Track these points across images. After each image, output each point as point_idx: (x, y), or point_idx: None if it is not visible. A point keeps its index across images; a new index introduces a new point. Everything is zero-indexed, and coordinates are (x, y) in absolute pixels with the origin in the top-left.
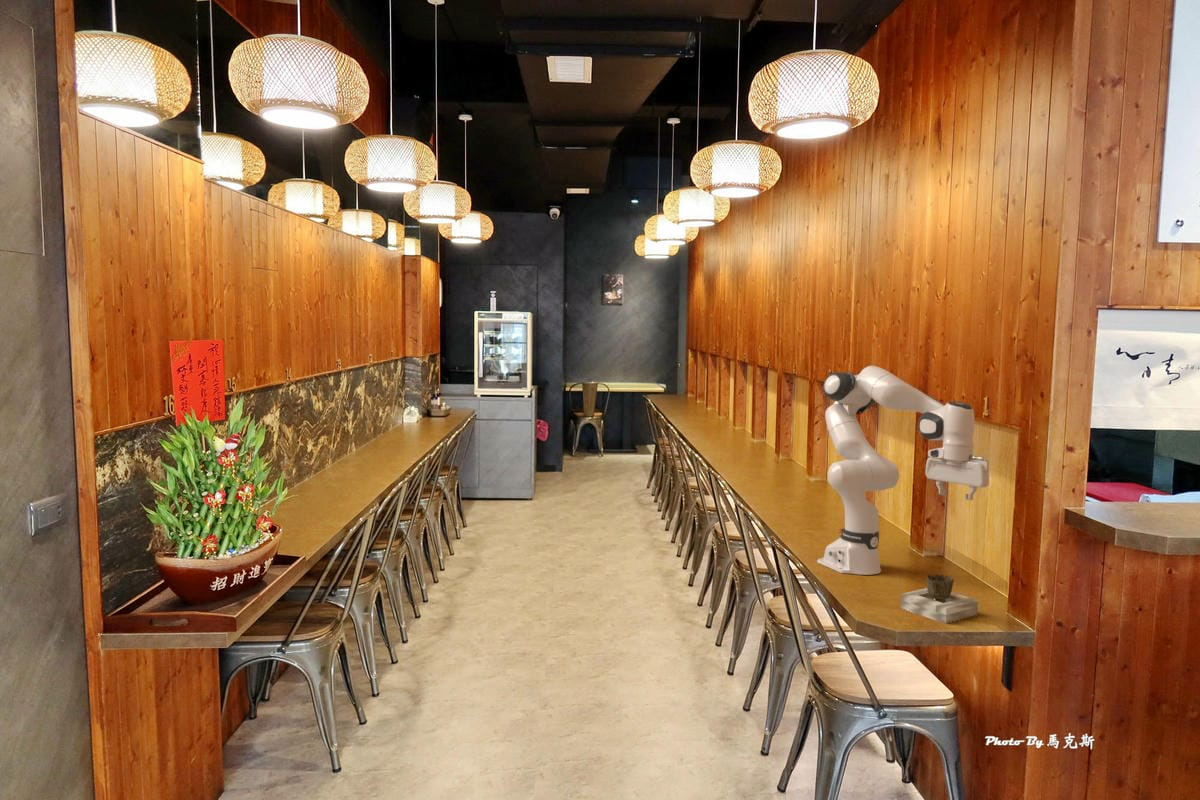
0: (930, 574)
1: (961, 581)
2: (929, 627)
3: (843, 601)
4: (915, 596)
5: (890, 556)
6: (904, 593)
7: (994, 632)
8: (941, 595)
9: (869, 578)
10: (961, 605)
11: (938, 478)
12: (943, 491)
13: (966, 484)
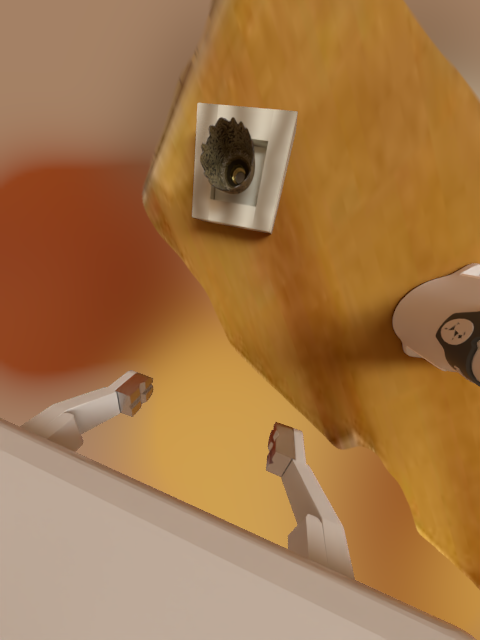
0: (251, 165)
1: (274, 355)
2: (216, 62)
3: (424, 33)
4: (268, 126)
5: (398, 412)
6: (293, 124)
7: (154, 157)
8: (223, 150)
9: (404, 274)
10: (195, 164)
11: (321, 601)
12: (274, 444)
13: (38, 442)
